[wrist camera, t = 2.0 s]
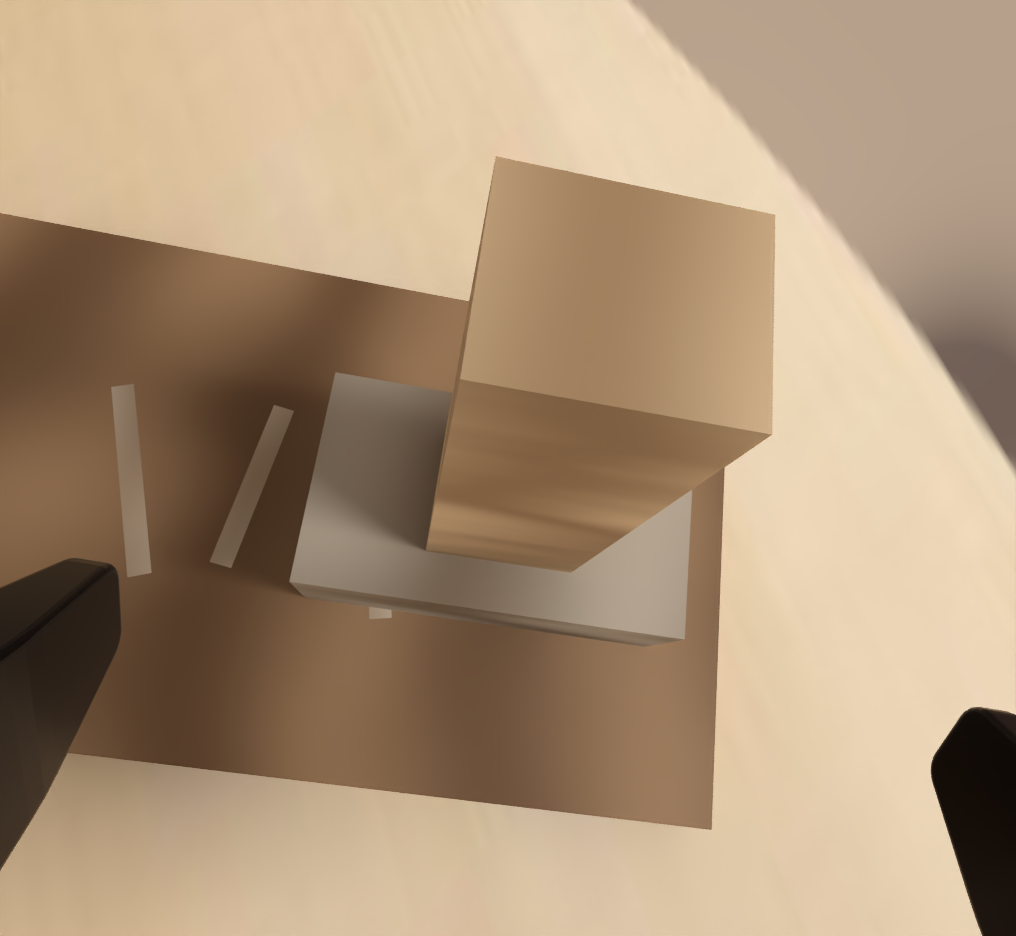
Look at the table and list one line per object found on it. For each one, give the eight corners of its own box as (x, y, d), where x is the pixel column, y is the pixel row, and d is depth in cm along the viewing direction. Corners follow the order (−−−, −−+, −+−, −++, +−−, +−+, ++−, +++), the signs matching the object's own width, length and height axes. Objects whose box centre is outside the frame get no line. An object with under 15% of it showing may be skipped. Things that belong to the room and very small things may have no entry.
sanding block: (657, 468, 19) (984, 184, 8) (645, 646, 17) (1022, 577, 7) (343, 414, 18) (268, 27, 7) (304, 597, 16) (145, 435, 6)
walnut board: (706, 372, 21) (728, 350, 20) (686, 818, 18) (711, 829, 16) (-89, 226, 19) (-128, 189, 18) (-302, 699, 16) (-373, 699, 14)
